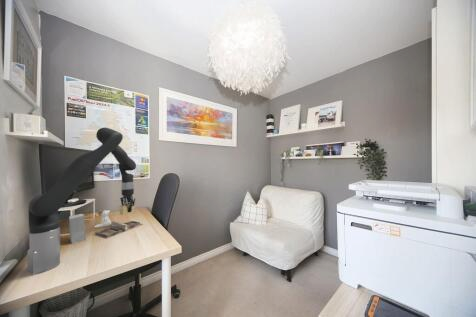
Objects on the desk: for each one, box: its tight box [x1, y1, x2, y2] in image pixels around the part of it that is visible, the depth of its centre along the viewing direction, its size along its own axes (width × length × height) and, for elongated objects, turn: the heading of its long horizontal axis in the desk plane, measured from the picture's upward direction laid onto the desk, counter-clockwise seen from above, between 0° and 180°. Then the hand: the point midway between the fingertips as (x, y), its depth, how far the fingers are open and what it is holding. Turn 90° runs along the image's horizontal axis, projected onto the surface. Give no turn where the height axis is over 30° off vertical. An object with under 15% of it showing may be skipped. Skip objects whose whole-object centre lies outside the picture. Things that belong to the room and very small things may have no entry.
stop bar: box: [119, 202, 136, 216], centre depth 123 cm, size 9×4×6 cm, turn 156°
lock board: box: [91, 220, 144, 240], centre depth 117 cm, size 25×16×5 cm, turn 157°
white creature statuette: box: [94, 209, 112, 228], centre depth 126 cm, size 10×9×12 cm
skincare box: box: [68, 213, 87, 245], centre depth 102 cm, size 8×7×16 cm
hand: (127, 211), depth 123 cm, fingers closed on stop bar, 3 cm apart
